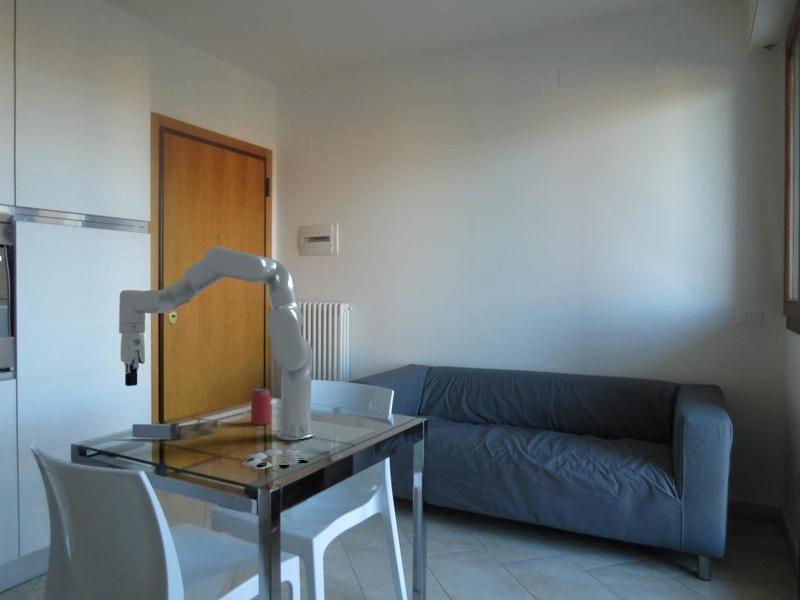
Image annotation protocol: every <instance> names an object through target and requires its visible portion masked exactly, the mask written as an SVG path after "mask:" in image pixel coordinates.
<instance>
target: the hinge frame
mask: <svg viewBox="0 0 800 600" xmlns="http://www.w3.org/2000/svg"><path fill="white" fill-rule="evenodd" d="M171 425H172V438H171V441H173V440H175V441H178V440H185V439H192V438H197V437H203V436H208V435H214V434H218V420H209V421H203V422H202V421H201V422H194V423H188V424H183V425H180V423H179V422H173V423H171Z"/></svg>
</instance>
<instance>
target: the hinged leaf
mask: <svg viewBox="0 0 800 600" xmlns="http://www.w3.org/2000/svg"><path fill="white" fill-rule="evenodd" d="M131 428H132V431H131V433H132V435H131V436H132V437H136V438H137V439H138V438H140V439H141V438H143V439H172V424H160V423H159V424H157V423H156V424H155V423H151V424H150V423H133V424H132V426H131Z"/></svg>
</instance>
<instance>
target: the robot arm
mask: <svg viewBox="0 0 800 600" xmlns="http://www.w3.org/2000/svg"><path fill="white" fill-rule="evenodd" d="M226 278H231V279H235V280H241V281H244V282H248V283H259V284H261V283H262V284H266V286H267V287H268V295H269V299H270V303H271V306H272V307H271V308H272V309H271V311H270V313H269V315H268V317H267V329H268V333H269V334H268V335H269V337H270V338H269V339H270V342H271V347H272V350H273V351H272V352H273V354H274V358H275V361H276V363H277V365H278V366H279V367H280V368H281V381H280V382H281V383H280V429H279V430H277V431H276V432H275V437H276V438H277V439H279V440H282V441H299V440H298V439H304V438H308V437H311V436H314V435H315V434H316V430H315V429H312V374H313V373H312V372H313V360H314V359H313V357H314V354H313V353H314V352H313V347H312V345H311V343H310V342H309V341H308V340H307V339H305V338H303V334H302V330H301V329H302V327H303V324H304V317H303V314H302V310H301V306H300V301H299V297H298V294H297V290H296V286H295V282H294V279H293V276H292V274H291V272H290V270H289V269H288V267H287V266H285V264H283V263H282V262H280V261H279V260H276V259H273V258H269V257H267V256H262V255H257V254H252V253H249V252H244V251H238V250H233V249H230V248H228V247H223V246H215V247H212V248H210V249H209V250H207V251H206V252H205V255H204V257H203V258H202V259H201V260H199V261H197V262H195V263H194V264H193V265H190V266H189V267H187V268H186V269H184V274H183V276H182V277H181V278H180V279H179V280H177V281H176V282H175V283H173V284H171V285H169V286H168V287H166V288H164V289H150V290H149V289H147V290H138V289H136V290H135V289H134V290H133V289H126V290H125V289H124V290H121V291H120V292H119V312H118V314H119V315H118V334H121V338H120V361H121V362H122V363H124V370H125V371H124V372H125V373H124V374H125V376H124V378H125V379H124V385H125V386H127V387H134V386H137V385H138V372H139V368H140V364H141V365H144V364H145V363H146V349H145V346H146V345H145V336H144V334H145V333H146V314H152V315H155V314H163V313H165V314H166V313H170V312H172V311H173V310H174V311H175V309H178V308H179V307H181V306H182V305H184V304H185V303H188V302H190V300H192V299H193V298H195V297H196V296H198V295H199V294H200V293H201V292H203V291H204V290H206V289H208V288H209V287H211V286H213V285H215V284H216V283H219V282H221V281H222V280H223V279H226ZM316 435H317V434H316ZM316 435H315V436H316ZM315 436H314V437H315Z"/></svg>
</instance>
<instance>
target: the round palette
mask: <svg viewBox="0 0 800 600" xmlns="http://www.w3.org/2000/svg"><path fill="white" fill-rule="evenodd" d="M282 452H283V454H288V455H289V454H296V453H298V452H301V453H306V452H305V451H303V452H302V451H300V450H299V449H296V448H295V449H294V448H287V449H285V450H283V451H281V450H280V449H278V448H273V449H271V448H270V449H267V450H265V451H264V452H253V453H250V454H249V455H247V457H246V458H245V459H244V460H243V462H242V463H241V464H242V465H245V466H254V468H255V469H265V468H268V467H271V466H272V465H273V464H272V463H270V462H268V461H261V460H262V459H265V458H267V456H276V455H279V454H281V453H282ZM301 453H298V454H296V455H295V456H297V457H302V456H307V455H303V454H301ZM246 459H247V460H246ZM297 459H305V458H297ZM297 459H294V460H292V461H293V462H300V461H298V460H297ZM248 461H249V462H248ZM281 463H288V464H289V465H290V464H291V462H289V461H281V462H279V463H277V464H275V465H274V466H277V467H280V466H279V464H281ZM261 464H267V465H266V466H260V465H261ZM257 465H259V466H260V467H259V466H257Z"/></svg>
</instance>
